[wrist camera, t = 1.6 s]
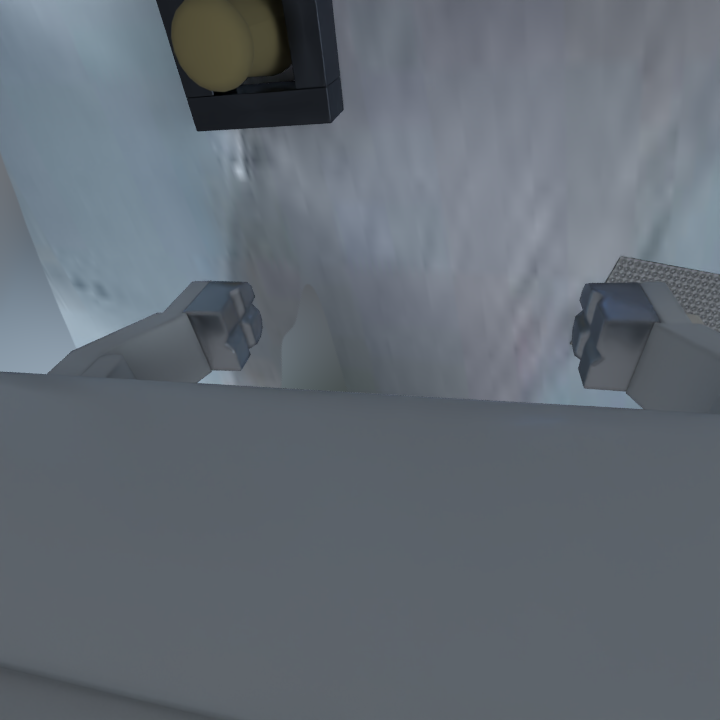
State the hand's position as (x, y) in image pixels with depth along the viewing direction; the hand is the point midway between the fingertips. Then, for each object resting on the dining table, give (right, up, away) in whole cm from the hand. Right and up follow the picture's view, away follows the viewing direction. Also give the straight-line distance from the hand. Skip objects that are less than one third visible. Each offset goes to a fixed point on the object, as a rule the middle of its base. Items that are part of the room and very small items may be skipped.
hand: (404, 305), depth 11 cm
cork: (-9, +26, +24) cm, 36 cm away
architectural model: (+31, +3, +34) cm, 46 cm away
